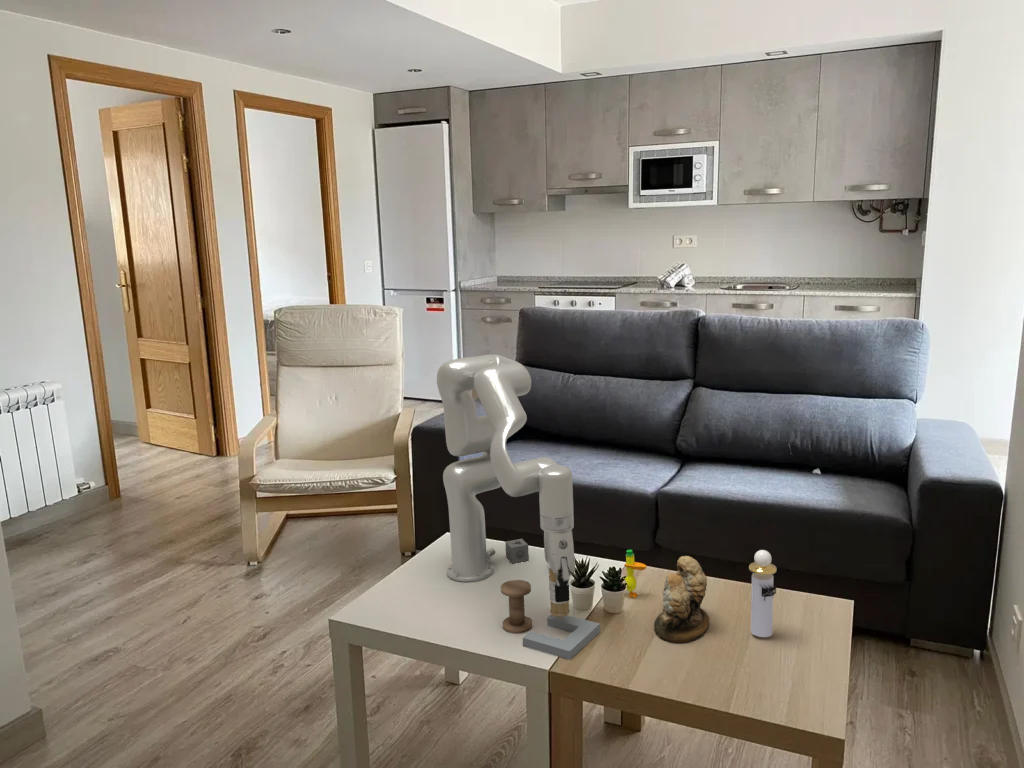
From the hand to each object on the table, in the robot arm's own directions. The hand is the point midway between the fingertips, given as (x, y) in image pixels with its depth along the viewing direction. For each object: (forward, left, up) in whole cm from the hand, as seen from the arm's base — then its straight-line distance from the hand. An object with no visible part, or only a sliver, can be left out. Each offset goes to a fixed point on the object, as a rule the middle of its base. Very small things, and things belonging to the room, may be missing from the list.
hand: (559, 595), depth 181 cm
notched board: (+4, +3, -8) cm, 9 cm away
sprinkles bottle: (0, 0, -5) cm, 5 cm away
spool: (+4, -9, -8) cm, 13 cm away
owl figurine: (-15, +24, -9) cm, 29 cm away
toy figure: (-23, +8, -9) cm, 26 cm away
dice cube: (-29, -31, -9) cm, 43 cm away
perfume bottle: (-19, +41, -9) cm, 46 cm away
